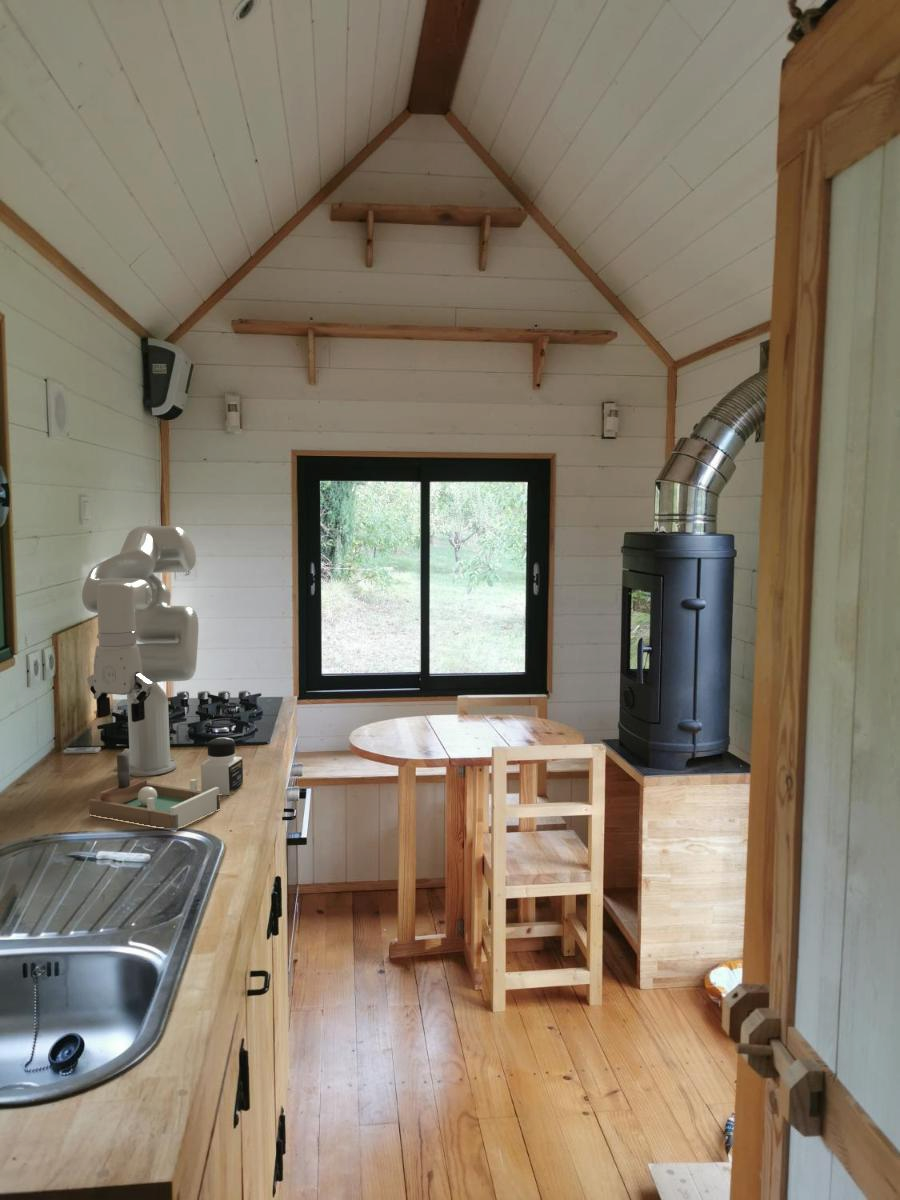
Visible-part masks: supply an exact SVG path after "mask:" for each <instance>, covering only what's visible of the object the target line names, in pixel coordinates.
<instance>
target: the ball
mask: <svg viewBox="0 0 900 1200" xmlns="http://www.w3.org/2000/svg"><path fill="white" fill-rule="evenodd" d="M150 797H152V798H154V802H155V801H156V799H157V792H156V790H155V789H154V788H152V787H144V788H142V789H141V790H140V791H139V793H138V801H139V802H140V803H141V804H142V805H145V806H147V799H148V798H150Z"/></svg>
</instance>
